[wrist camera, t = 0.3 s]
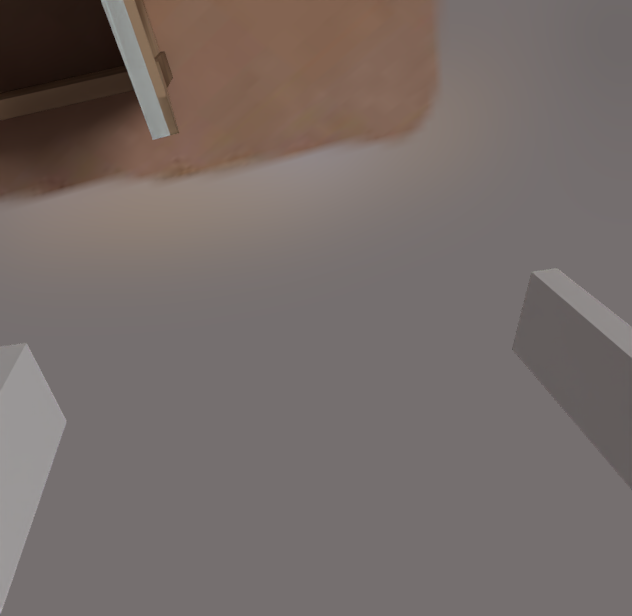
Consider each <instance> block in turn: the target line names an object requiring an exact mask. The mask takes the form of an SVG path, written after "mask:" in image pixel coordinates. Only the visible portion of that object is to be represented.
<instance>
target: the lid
mask: <svg viewBox="0 0 632 616" xmlns="http://www.w3.org/2000/svg"><path fill="white" fill-rule="evenodd" d="M101 2H102V5H103V7H104V10H105V13H106V15H107V18H108V21H109V24H110V26H111V29H112V32H113V34H114V37H115V40H116V42H117V45H118V48H119V50H120V53H121V56H122V58H123V61H124V64H125V66H126V69H127V72H128V74H129V77H130V80H131V82H132V85H133V88H134V90H135V93H136V96H137V98H138V101H139V104H140V106H141V109H142V112H143V114H144V117H145V120H146V122H147V125H148V128H149V130H150V133H151V136H152V139H153V140H154V139H158V138H162V137H166V136H169V135H173V134H177V133H179V131H178V127H177V124H176V120H175V116H174V112H173V109H172V105H171V101H170V97H169V94H168V90H167V86H166V83H165V80H164V77H163V74H162V71H161V68H160V65H159V62H155V59H154V56H153V53H152V50H151V47H150V44H149V41H148V38H147V35H146V33H145V30H144V27H143V24H142V21H141V18H140V15H139V12H138V9H137V6H136V3H135V0H101Z"/></svg>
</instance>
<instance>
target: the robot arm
mask: <svg viewBox="0 0 632 616" xmlns="http://www.w3.org/2000/svg"><path fill="white" fill-rule="evenodd" d="M512 350H513V351H514V352H515V353H516V354H517V356H518V357H519V358H520V359H521V360H522V361H523V363H524V364H525V365H526V366H527V367H528V369H529V370H530V371H531V372H532V373H533V374H534V376H535V377H536V378H537V379H538V380H539V381H540V383H541V384H542V385H543V386H544V387H545V389H546V390H547V391H548V392H549V393H550V394H551V395H552V397H553V398H554V399H555V400H556V401H557V403H558V404H559V405H560V406H561V407H562V408H563V410H564V411H565V412H566V413H567V414H568V416H569V417H570V418H571V419H572V420H573V421H574V422H575V424H576V425H577V426H578V427H579V428H580V430H581V431H582V432H583V433H584V434H585V435H586V437H587V438H588V439H589V440H590V441H591V443H592V444H593V445H594V446H595V447H596V448H597V450H598V451H599V452H600V453H601V454H602V455H603V457H604V458H605V459H606V460H607V461H608V462H609V464H610V465H611V466H612V467H613V468H614V469H615V471H616V472H617V473H618V474H619V475H620V477H621V478H622V479H623V480H624V481H625V483H626V484H627V485H628V486H629V487H630V488H631V490H632V327H631V326H630V325H629V324H627V323H626V322H625V321H623V320H622V319H621V318H619V317H618V316H617V315H616V314H615V313H613V312H612V311H611V310H609V309H608V308H607V307H606V306H604V305H603V304H602V303H600V302H599V301H598V300H597V299H595V298H594V297H593V296H592V295H590V294H589V293H588V292H586V291H585V290H584V289H583V288H581V287H580V286H579V285H578V284H576V283H575V282H574V281H572V280H571V279H570V278H569V277H567V276H566V275H565V274H564V273H562V272H561V271H560V270H558V269H557V268H555V269H548V270H541V271H534V272H531V276H530V280H529V284H528V288H527V292H526V296H525V300H524V304H523V307H522V311H521V315H520V319H519V323H518V327H517V331H516V335H515V339H514V343H513V347H512ZM66 422H67V421H66V419H65V417H64V415H63V413H62V411H61V409H60V407H59V405H58V403H57V401H56V399H55V397H54V395H53V394H52V392H51V390H50V388H49V386H48V384H47V382H46V380H45V378H44V376H43V374H42V372H41V370H40V368H39V366H38V364H37V362H36V361H35V359H34V356H33V354H32V353H31V351H30V349H29V347H28V345H27V343H21V344H14V345H8V346H0V614H1V611H2V608H3V605H4V603H5V600H6V597H7V594H8V591H9V588H10V585H11V582H12V579H13V576H14V574H15V571H16V567H17V565H18V562H19V559H20V556H21V553H22V550H23V547H24V544H25V542H26V538H27V536H28V533H29V530H30V527H31V524H32V521H33V518H34V515H35V512H36V509H37V507H38V504H39V501H40V498H41V494H42V492H43V489H44V486H45V483H46V480H47V477H48V474H49V472H50V469H51V466H52V463H53V460H54V457H55V454H56V451H57V448H58V445H59V442H60V440H61V437H62V434H63V431H64V428H65V425H66Z"/></svg>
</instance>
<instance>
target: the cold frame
mask: <svg viewBox="0 0 632 616" xmlns="http://www.w3.org/2000/svg"><path fill="white" fill-rule="evenodd" d="M135 3H136V6H137V9H138V12H139V15H140V18H141V21H142V24H143V27H144V30H145V33H146V35H147V38H148V41H149V44H150V47H151V50H152V53H153V56H154V59H155V62H159V65H160V68H161V71H162V74H163V77H164V80H165V83H166V86H167V87H168V85H169V84H170V82H171V80H172V78H173V77H172V73H171V70H170V67H169V64H168V61H167V58H166V55H165V52H160V51H159V48H158V45H157V42H156V39H155V36H154V33H153V30H152V27H151V24H150V21H149V18H148V15H147V12H146V9H145V6H144V3H143V0H135ZM133 90H134V88H133V85H132V82H131V80H130V77H129V74H128V72H127V69H126V66H120V67H116V68H111V69H107V70H103V71H98V72H94V73H89V74H85V75H80V76H76V77H71V78H67V79H62V80H58V81H53V82H49V83H44V84H40V85H35V86H31V87H26V88H22V89H17V90H13V91H9V92H4V93H0V121H1V120H5V119H10V118H14V117H18V116H23V115H27V114H32V113H36V112H40V111H45V110H49V109H54V108H58V107H63V106H67V105H71V104H76V103H80V102H85V101H89V100H93V99H98V98H102V97H107V96H111V95H116V94H120V93H124V92H129V91H133Z"/></svg>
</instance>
